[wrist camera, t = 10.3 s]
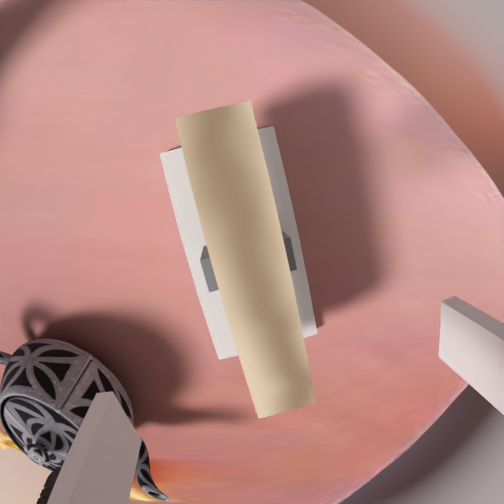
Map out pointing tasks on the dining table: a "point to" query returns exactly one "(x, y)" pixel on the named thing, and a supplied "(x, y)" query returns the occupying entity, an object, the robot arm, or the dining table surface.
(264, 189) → the wooden beam
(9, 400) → the teapot
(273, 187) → the fulcrum
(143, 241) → the dining table surface
